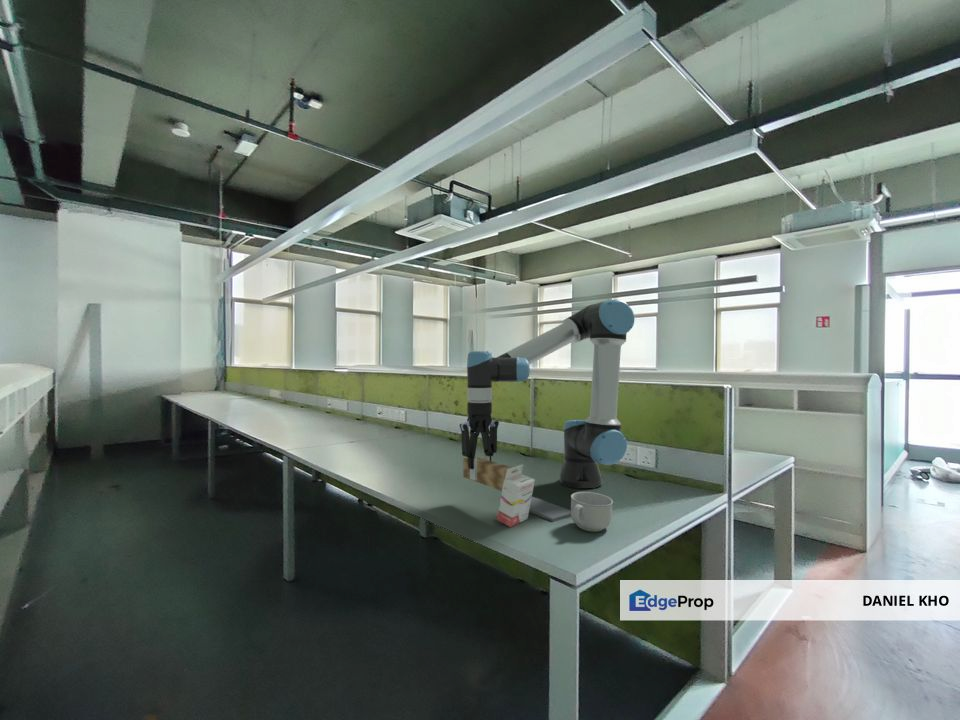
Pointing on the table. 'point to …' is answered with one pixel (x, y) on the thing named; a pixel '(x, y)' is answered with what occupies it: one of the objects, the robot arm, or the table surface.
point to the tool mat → (548, 510)
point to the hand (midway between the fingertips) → (479, 477)
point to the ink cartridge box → (515, 497)
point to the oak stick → (487, 472)
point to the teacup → (591, 510)
